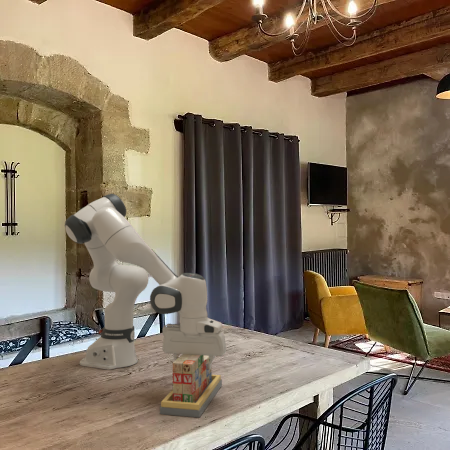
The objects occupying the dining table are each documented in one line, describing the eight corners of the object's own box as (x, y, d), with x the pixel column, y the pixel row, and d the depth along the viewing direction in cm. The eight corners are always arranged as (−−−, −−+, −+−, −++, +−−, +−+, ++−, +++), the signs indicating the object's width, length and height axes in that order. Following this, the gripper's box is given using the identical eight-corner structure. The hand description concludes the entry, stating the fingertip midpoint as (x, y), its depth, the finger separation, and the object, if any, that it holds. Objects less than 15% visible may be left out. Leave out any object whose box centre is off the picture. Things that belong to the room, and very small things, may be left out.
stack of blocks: (194, 379, 160) (193, 343, 160) (212, 380, 158) (211, 344, 158) (172, 403, 139) (172, 362, 139) (192, 405, 137) (192, 363, 137)
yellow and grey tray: (159, 414, 136) (159, 402, 136) (188, 382, 162) (188, 372, 162) (199, 417, 133) (199, 405, 133) (221, 385, 160) (221, 374, 160)
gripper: (159, 325, 147) (159, 369, 147) (222, 328, 143) (222, 373, 143) (166, 321, 153) (166, 363, 154) (226, 323, 149) (227, 366, 149)
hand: (194, 368), depth 148 cm, fingers open, 8 cm apart
